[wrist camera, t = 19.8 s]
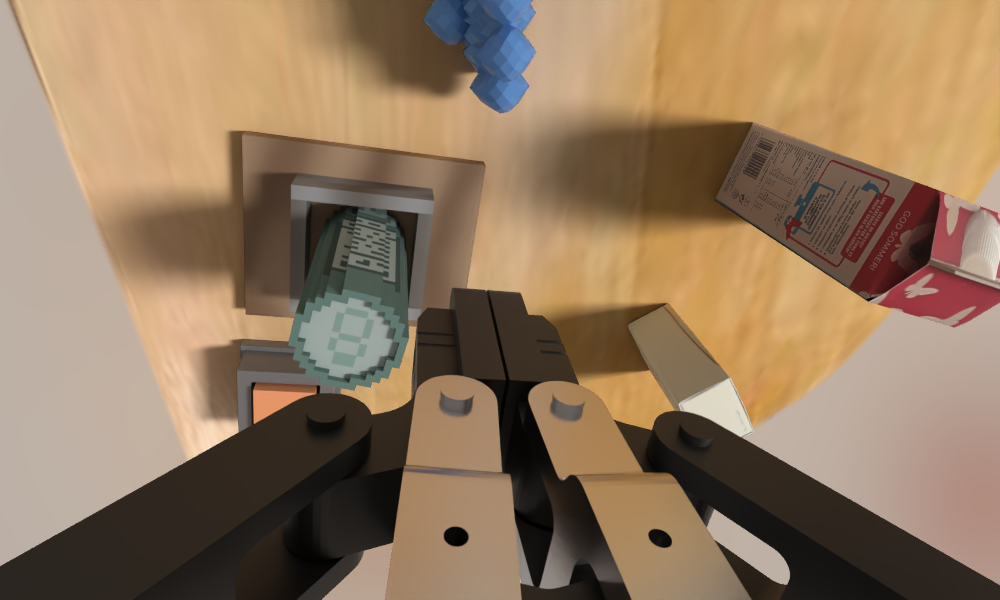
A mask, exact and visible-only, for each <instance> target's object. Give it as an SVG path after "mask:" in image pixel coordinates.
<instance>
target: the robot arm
mask: <svg viewBox="0 0 1000 600" xmlns="http://www.w3.org/2000/svg"><path fill="white" fill-rule="evenodd" d="M714 509H715V510H717V511H718V512H720V513H721V514H723V515H724V516H726V517H727V518H729V519H730V520H732V521H734V522H735V523H736V524H738V525H740V526H741V527H743V528H744V529H745V530H747V531H748V532H750V533H751V534H753V535H754V536H756V537H757V538H759V539H760V540H762V541H763V542H765V543H767V544H768V545H769V546H771V547H772V548H774V549H775V550H776V551H778V552H779V553H780V554H781V556H782V557H783V558H784V559H785V561H786V562H787V565H788V567H789V570H790V580H789V582H788V584H787V585H784V584H779V583H777V582H774V581H772V580H771V579H770V578H768V577H767V576H765V575H764V574H762V573H761V572H759V571H758V570H757V569H755V568H754V567H753V566H751V565H750V564H748V563H747V562H745V561H744V560H743V559H741V558H740V557H738V556H737V555H735V554H734V553H732V552H731V551H730V550H728V549H727V548H725V547H724V546H723V545H721V544H720V543H718V542H717V541H715V540H714V539H713V537H712V536H711V534H710V533H709V531H708V529H707V525H708V523H709V520H710V518H711V515H712V513H713V510H714ZM390 543H393V547H392V554H391V561H390V568H389V575H388V582H387V589H386V596H385V600H1000V585H998V584H997V583H995V582H993V581H991V580H990V579H988V578H986V577H984V576H983V575H981V574H979V573H977V572H976V571H974V570H972V569H970V568H969V567H967V566H965V565H964V564H962V563H960V562H958V561H956V560H954V559H953V558H951V557H950V556H948V555H946V554H944V553H943V552H941V551H939V550H937V549H935V548H933V547H932V546H930V545H929V544H927V543H925V542H923V541H922V540H920V539H918V538H916V537H914V536H913V535H911V534H909V533H908V532H906V531H904V530H902V529H900V528H899V527H897V526H895V525H894V524H892V523H890V522H888V521H887V520H885V519H883V518H881V517H880V516H878V515H876V514H874V513H873V512H871V511H869V510H867V509H865V508H864V507H862V506H860V505H859V504H857V503H855V502H853V501H852V500H850V499H848V498H846V497H845V496H843V495H841V494H839V493H838V492H836V491H834V490H832V489H831V488H829V487H827V486H825V485H824V484H822V483H820V482H818V481H817V480H815V479H813V478H811V477H810V476H808V475H806V474H804V473H803V472H801V471H799V470H797V469H796V468H794V467H792V466H790V465H789V464H787V463H785V462H783V461H782V460H780V459H778V458H777V457H775V456H773V455H771V454H769V453H768V452H766V451H764V450H762V449H761V448H759V447H757V446H755V445H754V444H752V443H750V442H748V441H747V440H745V439H743V438H742V437H740V436H738V435H736V434H735V433H733V432H731V431H729V430H728V429H726V428H724V427H722V426H721V425H719V424H717V423H715V422H714V421H712V420H710V419H708V418H705V417H703V416H701V415H697V414H694V413H690V412H684V411H670V412H665V413H663V414H661V415H659V416H658V417H657V418H656V420H655V422H654V425H653V428H652V430H649V429H645V428H641V427H637V426H633V425H629V424H625V423H622V422H619V421H616V420H614V419H613V418H612V416H611V414H610V413H609V411H608V409H607V407H606V405H605V404H604V402H603V401H602V399H601V398H600V397H599V396H598V395H596V394H595V393H594V392H592V391H590V390H589V389H587V388H585V387H583V386H580V385H579V383H578V381H577V378H576V376H575V373H574V371H573V368H572V366H571V363H570V361H569V359H568V356H567V355H566V351H565V349H564V346H563V344H561V339H560V337H559V334H558V332H557V329H556V328H555V327H554V326H553V325H552V324H551V323H550V322H549V321H547V320H546V319H545V318H544V317H543V316H538V315H528V313H527V310H526V307H525V304H524V301H523V298H522V295H521V293H517V292H505V291H492V290H487V292H486V290H478V289H466V288H452V291H451V296H450V304H449V309H442V308H428V307H427V308H426V310H425V311H424V312H423V313H422V314H421V315H420V316H419V317H418V319H417V329H416V340H415V350H414V360H413V371H412V395H411V400H410V401H409V402H408V403H406V404H405V405H403V406H402V407H399V408H397V409H395V410H392V411H389V412H385V413H380V414H374V415H372V414H371V412H370V410H369V409H368V407H367V406H366V405H365V404H364V403H362V402H361V401H359V400H357V399H355V398H353V397H350V396H347V395H342V394H336V393H321V394H314V395H309V396H306V397H303V398H300V399H298V400H296V401H294V402H292V403H290V404H288V405H287V406H285V407H283V408H281V409H280V410H278V411H276V412H274V413H272V414H271V415H269V416H267V417H265V418H264V419H262V420H260V421H258V422H256V423H255V424H253V425H251V426H249V427H247V428H246V429H244V430H242V431H240V432H239V433H237V434H235V435H233V436H231V437H230V438H228V439H226V440H224V441H223V442H221V443H219V444H217V445H215V446H214V447H212V448H210V449H208V450H206V451H205V452H203V453H201V454H199V455H198V456H196V457H194V458H192V459H190V460H189V461H187V462H185V463H183V464H182V465H180V466H178V467H176V468H174V469H173V470H171V471H169V472H168V473H166V474H164V475H162V476H160V477H158V478H157V479H155V480H153V481H151V482H150V483H148V484H146V485H144V486H142V487H141V488H139V489H137V490H135V491H133V492H132V493H130V494H128V495H126V496H124V497H123V498H121V499H119V500H117V501H116V502H114V503H112V504H110V505H109V506H107V507H105V508H103V509H102V510H100V511H98V512H96V513H94V514H92V515H91V516H89V517H87V518H85V519H84V520H82V521H80V522H78V523H76V524H75V525H73V526H71V527H69V528H67V529H66V530H64V531H62V532H60V533H59V534H57V535H55V536H53V537H51V538H50V539H48V540H46V541H44V542H43V543H41V544H39V545H37V546H36V547H34V548H32V549H30V550H28V551H26V552H25V553H23V554H21V555H19V556H18V557H16V558H14V559H12V560H10V561H9V562H7V563H5V564H3V565H2V566H0V600H322V598H324V597H325V595H327V594H328V593H329V592H330V591H331V590H332V589H333V588H334V587H335V586H336V585H338V584H339V583H340V582H341V581H342V580H343V579H344V578H345V577H346V576H347V575H348V574H349V573H350V572H351V571H352V570H353V569H354V568H355V567H356V566H357V565H358V563H359V562H360V560H361V558H362V556H363V552H364V550H368V549H372V548H375V547H378V546H382V545H386V544H390ZM520 579H521V583H520Z"/></svg>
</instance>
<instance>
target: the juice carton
mask: <svg viewBox="0 0 1000 600" xmlns="http://www.w3.org/2000/svg"><path fill="white" fill-rule="evenodd" d="M939 192H940V193H939ZM715 201H717V202H718V203H720V204H721V205H723V206H724V207H726V208H727V209H729V210H730V211H732V212H733V213H735V214H736V215H738V216H739V217H741V218H742V219H744V220H745V221H747V222H748V223H750V224H751V225H753V226H754V227H756V228H757V229H759V230H760V231H762V232H763V233H765V234H767V235H768V236H770V237H771V238H773V239H774V240H776V241H777V242H779V243H780V244H782V245H783V246H785V247H786V248H788V249H789V250H791V251H792V252H794V253H795V254H797V255H798V256H800V257H801V258H803V259H804V260H806V261H807V262H809V263H811V264H812V265H814V266H815V267H817V268H818V269H820V270H821V271H823V272H824V273H826V274H827V275H829V276H830V277H832V278H833V279H835V280H836V281H838V282H839V283H841V284H842V285H844V286H845V287H847V288H848V289H850V290H851V291H853V292H854V293H856V294H858V295H859V296H861V297H862V298H864V299H865V300H867V301H868V302H871V303H874V304H878V305H881V306H884V307H888V308H891V309H894V310H898V311H901V312H904V313H908V314H911V315H915V316H918V317H921V318H925V319H928V320H931V321H935V322H938V323H942V324H945V325H948V326H951V327H957V326H959V325H962V324H964V323H966V322H968V321H970V320H972V319H973V318H975V317H977V316H978V315H980V314H982V313H983V312H985V311H987V310H988V309H990V308H992V307H993V306H995V305H997V304H998V303H1000V214H999V213H996V212H994V211H991V210H989V209H986V208H983V207H981V206H978V205H976V204H973V203H970V202H968V201H965V200H962V199H960V198H957V197H955V196H952V195H949V194H947V193H944V192H941V191H939V190H936V189H933V188H931V187H928V186H925V185H922V184H920V183H917V182H914V181H912V180H909V179H906V178H903V177H901V176H898V175H895V174H893V173H890V172H887V171H884V170H882V169H879V168H876V167H874V166H871V165H868V164H865V163H863V162H860V161H857V160H854V159H852V158H849V157H846V156H844V155H841V154H838V153H835V152H833V151H830V150H827V149H825V148H822V147H819V146H816V145H814V144H811V143H808V142H806V141H803V140H800V139H797V138H795V137H792V136H789V135H787V134H784V133H781V132H778V131H776V130H773V129H770V128H768V127H765V126H762V125H759V124H757V123H754V122H753V124H752V126H751V128H750V130H749V132H748V134H747V136H746V138H745V140H744V142H743V144H742V146H741V148H740V150H739V152H738V154H737V156H736V158H735V160H734V162H733V164H732V166H731V168H730V170H729V172H728V174H727V176H726V178H725V180H724V182H723V184H722V186H721V188H720V190H719V192H718V194H717V196H716V198H715Z"/></svg>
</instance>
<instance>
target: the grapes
mask: <svg viewBox="0 0 1000 600" xmlns="http://www.w3.org/2000/svg"><path fill="white" fill-rule="evenodd" d="M532 1H533V0H434V2H433V3H432V5H431V6H430V8H429V9H428V11H427V13H426V15H425V17H424V19H423V21H424V22H425V23H426V25H427V26H428V27H429V28H430V30H431V31H432V32H433V33H434V34H435V35H436V37H437V38H439V39H440V40H442V41H443V42H445V43H446V44H448V45H450V46H452V45H455V44H458V43H460V42H463V43H464V44H465V45H466V48H465V49H464V51H463V53H464V55H465V57H466V59H467V60H468V61H469V62H470V64H471V65H472V66H473V67H474V68H475V70H476V72H477V73H478V75H477V76H476V78H475V79H474V81H473V83H472V84H471V86H470V88H471V90H472V91H473V92H474V93H475V95H476V96H477V97H478V98H479V99H480V100H481V101H482V102H483V103H484V104H486V105H487V106H489V107H491V108H492V109H494V110H495V111H497V112H499V113H505V112H508V111H510V110H512V109H513V108H514V107H515V106H516V105H517V104H518V103H519V101H520V100H521V98H522V96H523V95H524V93H525V92H526V90H527V88H528V87H529V84H528V83H527V82H526V80H525V79H524V78H523V76H522V75H521V74H522V73H523V72H524V71H525V69H526V68H527V66H528V65H529V63H530V62H531V60H532V58H533V57H534V55H535V53H536V50H535V49H534V47H533V46H532V44H531V43H530V42H529V40H528V39H527V38H526V37H525V36H524V34H523V33H522V32H523V31H524V30H525V29H526V27H527V26H528V24H529V23H530V21H531V19H532V18H533V16H534V14H535V13H536V12H535V10H534V9H533V7H532V6H531V2H532Z"/></svg>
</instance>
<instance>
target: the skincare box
mask: <svg viewBox="0 0 1000 600" xmlns="http://www.w3.org/2000/svg"><path fill="white" fill-rule="evenodd" d="M628 328H629V330H630V332H631V335H632V337H633V339H634V341H635V343H636V345H637V347H638V349H639V351H640V353H641V355H642V357H643V359H644V361H645V362H646V364H647V366H648V368H649V370H650V371H651V373H652V375H653V376H654V378H655V379H656V381H657V382H658V384H659V386H660V387H661V389H662V390H663V392H664V394H665V395H666V397H667V398H668V400H669V401H670V403H671V405H672V406H673V408H674V409H675V411H684V412H690V413H694V414H697V415H701V416H703V417H705V418H708V419H710V420H712V421H714V422H715V423H717V424H719V425H721V426H722V427H724V428H726V429H728V430H729V431H731V432H733V433H735V434H736V435H738V436H740V437H742V438H743V437H745V436H747V435H749V434H751V433H753V427H752V425H751V422H750V419H749V417H748V414H747V412H746V410H745V407H744V405H743V403H742V401H741V398H740V396H739V394H738V392H737V390H736V388H735V386H734V384H733V382H732V380H731V378H730V377H729V376H728V374H727V373H726V372H725V371H724V369H723V368H722V367H721V366H720V365H719V364H718V362H717V361H716V360H715V359H714V357H713V356H712V355H711V354H710V353H709V351H708V350H707V349H706V348H705V346H704V345H703V344H702V343H701V342H700V340H699V339H698V338H697V337H696V336H695V334H694V333H693V332H692V331H691V330H690V328H689V327H688V326H687V325H686V323H685V322H684V321H683V320H682V319H681V317H680V316H679V315H678V314H677V313H676V312H675V310H674V309H673V308H672V307H671V306H670V304H666V305H664V306H662V307H660V308H658V309H656V310H654V311H652V312H651V313H649V314H647V315H645V316H643V317H641V318H639V319H637V320H635V321H633V322H631V323H630V324H629V325H628Z"/></svg>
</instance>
